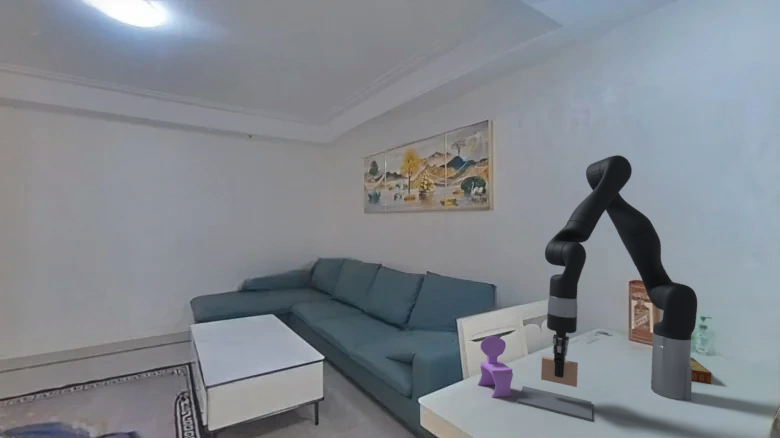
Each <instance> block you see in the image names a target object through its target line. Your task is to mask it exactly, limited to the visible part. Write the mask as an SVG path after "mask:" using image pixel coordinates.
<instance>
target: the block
mask: <svg viewBox="0 0 780 438" xmlns="http://www.w3.org/2000/svg"><path fill="white" fill-rule="evenodd" d="M578 365H579V362H578V361H577V362H576V361H571V360H567V359H566V360H565V363H564V374H563V377H562V378H561V377H556V376H555V362H554V357H549V356H545V355H542V357H541V373H540V374H541V375H540V379H541V380H542V381H547V382H552V383H555V384H561V385H565V386H570V387H574V388H578Z"/></svg>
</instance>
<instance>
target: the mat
mask: <svg viewBox="0 0 780 438" xmlns="http://www.w3.org/2000/svg"><path fill="white" fill-rule="evenodd" d="M517 397H518V398H517V400H516V403H517V404H521V405H525V406H528V407H532V408H537V409H540V410H544V411H549V412H553V413H556V414H560V415H564V416H568V417H571V418H572V417H573V418H577V419H580V420H584V421H589V422H592V421H593V409H592V407H593V406H592V400H588V399H582V398H579V397H574V396H569V395H564V394H559V393H555V392H551V391H547V390H543V389H538V388H533V387H529V386H524V385H523V386H522V388H521V389H520V393H519V395H518V396H517Z"/></svg>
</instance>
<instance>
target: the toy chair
mask: <svg viewBox="0 0 780 438" xmlns="http://www.w3.org/2000/svg"><path fill="white" fill-rule="evenodd" d="M479 346H480V348H479V349H480V350H481V352H482V353H483V354H484V355H485V356H486V361H481V362H480V371H481V376H480V379H479V381H478V383H477V386H487V385H488V386H489V385H495V387H494V390H493V393H492V394H491V398H500V397H511V396H512V388H511V385H512V380H513V377H514V373H513V369H512V368H511V367H509V366H508V365H506V364H505V363H503V362H502V361H500V360H498V357H499V356H501V355H503V353H504V352H505V350H506V346H507V345H506V341H505V340H504V339H502V338H500V337H499V336H493V335H489V336H486V337H485V338H484V339H483V340H482V341H481V342H480V345H479Z"/></svg>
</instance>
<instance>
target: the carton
mask: <svg viewBox="0 0 780 438" xmlns="http://www.w3.org/2000/svg"><path fill="white" fill-rule="evenodd" d="M690 365H691V367H692V382H693V383H698V384H699V383H700V384H706V385H712V374H713V373H712V372H711V371H710V370H708V369H707V367H705V366H704V365H702V364H701V363H700V362H698V361H697V360H696V359H695V358H694V357H692V356H690Z"/></svg>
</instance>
